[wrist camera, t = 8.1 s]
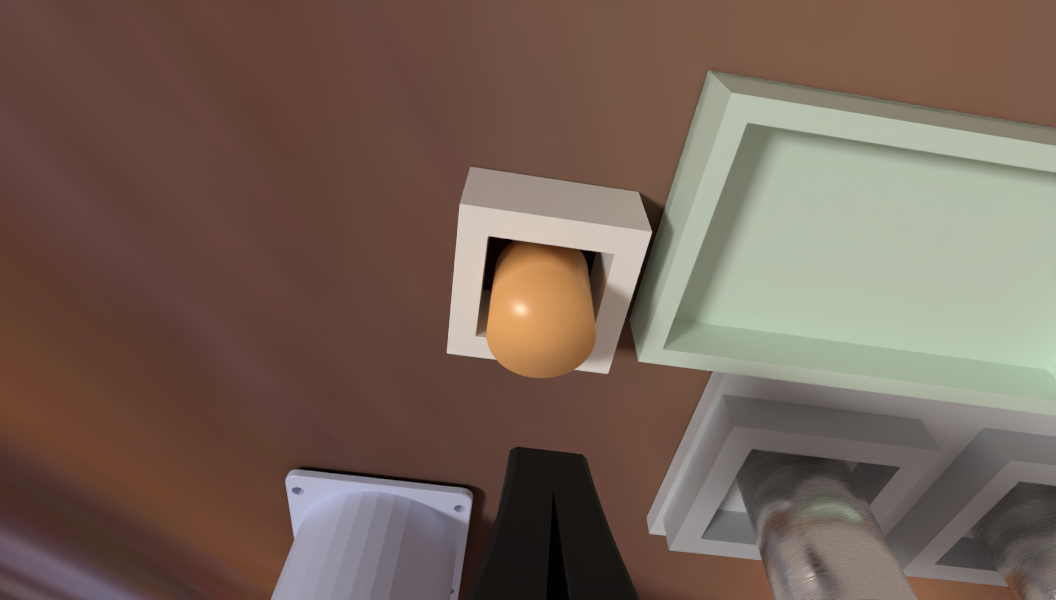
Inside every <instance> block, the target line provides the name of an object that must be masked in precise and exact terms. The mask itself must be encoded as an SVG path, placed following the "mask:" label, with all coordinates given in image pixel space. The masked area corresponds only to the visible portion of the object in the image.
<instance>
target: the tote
mask: <svg viewBox="0 0 1056 600" xmlns="http://www.w3.org/2000/svg"><path fill="white" fill-rule="evenodd" d="M629 320H630V324H631V329H632V334H633V339H634V343H635V348H636V353H637V358H638V362H646V363H654V364H661V365H669V366H677V367H685V368H692V369H700V370H708V371H715V372H723V373H731V374H738V375H746V376H754V377H761V378H769V379H777V380H784V381H792V382H800V383H808V384H815V385H823V386H831V387H838V388H846V389H854V390H861V391H869V392H877V393H884V394H892V395H900V396H908V397H915V398H923V399H931V400H938V401H946V402H954V403H961V404H969V405H977V406H984V407H992V408H1000V409H1007V410H1015V411H1023V412H1031V413H1038V414H1046V415H1054V416H1056V128H1053V127H1047V126H1041V125H1035V124H1029V123H1023V122H1017V121H1011V120H1005V119H999V118H993V117H987V116H981V115H975V114H969V113H963V112H957V111H951V110H945V109H939V108H933V107H927V106H921V105H915V104H909V103H903V102H897V101H891V100H885V99H879V98H873V97H867V96H861V95H855V94H849V93H843V92H837V91H831V90H825V89H819V88H813V87H807V86H801V85H795V84H789V83H783V82H777V81H771V80H765V79H759V78H753V77H747V76H741V75H735V74H729V73H723V72H717V71H711V70H708V73H707V76H706V79H705V82H704V85H703V89H702V92H701V95H700V98H699V101H698V104H697V108H696V111H695V114H694V117H693V120H692V123H691V126H690V130H689V133H688V136H687V139H686V142H685V145H684V149H683V152H682V155H681V158H680V161H679V164H678V167H677V171H676V174H675V177H674V180H673V183H672V186H671V190H670V193H669V196H668V199H667V202H666V205H665V208H664V212H663V215H662V218H661V221H660V224H659V227H658V231H657V234H656V237H655V240H654V243H653V246H652V249H651V253H650V256H649V259H648V262H647V265H646V268H645V272H644V275H643V278H642V281H641V284H640V287H639V290H638V294H637V297H636V300H635V303H634V306H633V309H632V313H631V316H630V319H629Z"/></svg>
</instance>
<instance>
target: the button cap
mask: <svg viewBox="0 0 1056 600" xmlns="http://www.w3.org/2000/svg"><path fill="white" fill-rule="evenodd" d="M486 338H487V343H488V347H489V349H490V351H491V353H492V355H493V356H494V357H495V359H496V360H497V361H498V362H499V363H500V364H501V365H503V366H504V367H505V368H507V369H509V370H510V371H512V372H514V373H517V374H519V375H523V376H527V377H532V378H550V377H556V376H560V375H563V374H566V373H568V372H571V371H573V370H574V369H576V368H578V367H579V366H580V365H581V364H583V363H584V362H585V361H586V360H587V358H588V357H589V356H590V354H591V353H592V351H593V348H594V346H595V342H596V328H595V320H594V312H593V304H592V296H591V288H590V280H589V272H588V265H587V262H586V259H585V257H584V255H583V254H582V252H581V251H580V250H579V249H576V248H569V247H562V246H555V245H548V244H541V243H534V242H527V241H520V240H514V241H513V242H511V243H510V244H509V245H507V246H506V247H505V248H504V250H503V251H502V252H501V254H500V255H499V257H498V259H497V262H496V266H495V272H494V279H493V286H492V294H491V301H490V309H489V316H488V323H487V332H486Z"/></svg>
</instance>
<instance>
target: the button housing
mask: <svg viewBox="0 0 1056 600" xmlns="http://www.w3.org/2000/svg"><path fill="white" fill-rule="evenodd" d="M651 234H652V230H651V227H650V224H649V221H648V218H647V215H646V212H645V209H644V206H643V203H642V200H641V197H640V195H639V192H635V191H628V190H621V189H615V188H608V187H601V186H595V185H588V184H581V183H575V182H568V181H562V180H555V179H548V178H542V177H535V176H528V175H522V174H515V173H508V172H502V171H495V170H489V169H482V168H475V167H470V170H469V173H468V177H467V180H466V184H465V187H464V191H463V194H462V198H461V201H460V207H459V219H458V230H457V242H456V253H455V265H454V276H453V288H452V299H451V311H450V322H449V334H448V345H447V353H449V354H457V355H465V356H472V357H480V358H488V359H495V357H494V356H493V355H492V353H491V351H490V349H489V347H488V343H487V338H486V332H487V323H488V316H489V309H490V301H491V294H492V291H490V290H483V285H484V277H485V269H486V261H487V253H488V245H489V237H490V236H492V237H499V238H506V239H513V240H520V241H527V242H534V243H541V244H548V245H555V246H562V247H569V248H576V249H583V250H590V251H596V254H595V258H594V262H593V266H592V270H591V274H590V278H589V280H590V288H591V296H592V304H593V312H594V320H595V328H596V342H595V346H594V348H593V351H592V353H591V354H590V356H589V357H588V358H587V360H586V361H585V362H584V363H583V364H581V365H580V366H579V367H578V368H576V369H574V370H582V371H589V372H597V373H605V374H608V372H609V369H610V366H611V363H612V359H613V356H614V353H615V350H616V347H617V343H618V340H619V337H620V334H621V330H622V327H623V324H624V321H625V318H626V314H627V311H628V308H629V305H630V302H631V298H632V295H633V292H634V289H635V286H636V282H637V279H638V276H639V273H640V269H641V266H642V263H643V260H644V257H645V253H646V250H647V247H648V244H649V241H650V237H651Z"/></svg>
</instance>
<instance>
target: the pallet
mask: <svg viewBox="0 0 1056 600" xmlns="http://www.w3.org/2000/svg"><path fill="white" fill-rule="evenodd" d="M751 449H756V450H764V451H772V452H781V453H789V454H797V455H805V456H814V457H822V458H830V459H839V460H845V461H846V463H847V465H848V467H849V469H850V471H851V472H852V474H853V476H854V478H855V480H856V482H857V484H858V486H859V488H860V490H861V492H862V494H863V495H864V497H865V499H866V501H867V503H868V505H869V507H870V509H871V511H872V513H873V515H874V516H875V518H876V520H877V522H878V524H879V526H880V528H881V530H882V532H883V534H884V536H885V538H886V539H887V541H888V543H889V545H890V547H891V549H892V551H893V553H894V555H895V557H896V559H897V560H898V562H899V564H900V566H901V568H902V570H903V572H904V574H905V576H914V577H923V578H933V579H942V580H951V581H960V582H970V583H979V584H988V585H998V586H1007V587H1009V586H1008V585H1007V583H1006V582H1005V581H1004V579H1003V578H1002V576H1001V575H1000V573H999V572H998V570H997V569H996V567H995V566H994V565H993V563H992V562H991V560H990V559H989V557H988V556H987V554H986V553H985V551H984V550H983V549H982V547H981V546H980V544H979V543H978V541H977V540H976V538H975V537H974V535H973V534H972V533H971V531H970V529H971V528H972V527H973V526H974V525H975V524H976V523H977V522H978V521H979V520H980V519H981V518H982V517H983V516H984V515H985V514H986V513H987V512H988V511H989V510H990V509H991V508H992V507H993V506H995V505H996V504H997V503H998V502H999V501H1000V500H1001V499H1002V498H1003V497H1004V496H1005V495H1006V494H1007V493H1008V492H1009V491H1010V490H1011V489H1012V488H1013V487H1014V486H1015V485H1016V484H1017V483H1018V482H1019V481H1020V482H1028V483H1037V484H1045V485H1053V486H1056V416H1054V415H1046V414H1038V413H1031V412H1023V411H1015V410H1007V409H1000V408H992V407H984V406H977V405H969V404H961V403H954V402H946V401H938V400H931V399H923V398H915V397H908V396H900V395H892V394H884V393H877V392H869V391H861V390H854V389H846V388H838V387H831V386H823V385H815V384H808V383H800V382H792V381H784V380H777V379H769V378H761V377H754V376H746V375H738V374H731V373H723V372H715V371H713V373H712V375H711V377H710V379H709V381H708V384H707V386H706V388H705V390H704V392H703V395H702V397H701V399H700V401H699V403H698V406H697V408H696V410H695V412H694V414H693V417H692V419H691V421H690V423H689V425H688V428H687V430H686V432H685V434H684V436H683V439H682V441H681V443H680V445H679V447H678V450H677V452H676V454H675V456H674V458H673V461H672V463H671V465H670V467H669V469H668V472H667V474H666V476H665V478H664V480H663V483H662V485H661V487H660V489H659V491H658V494H657V496H656V498H655V500H654V502H653V505H652V507H651V509H650V511H649V513H648V516H647V524H648V529H649V534H657V535H666V537H667V543H668V548H669V550H672V551H681V552H691V553H700V554H709V555H719V556H728V557H737V558H746V559H756V560H762V559H761V556H760V552H759V549H758V546H757V543H756V540H755V537H754V534H753V531H752V527H751V524H750V521H749V518H748V515H747V512H746V509H745V506H744V502H743V499H742V496H741V493H740V490H739V487H738V484H737V481H736V475H737V473H738V472H739V470H740V468H741V466H742V465H743V463H744V461H745V459H746V458H747V456H748V454H749V452H750V451H751Z"/></svg>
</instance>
